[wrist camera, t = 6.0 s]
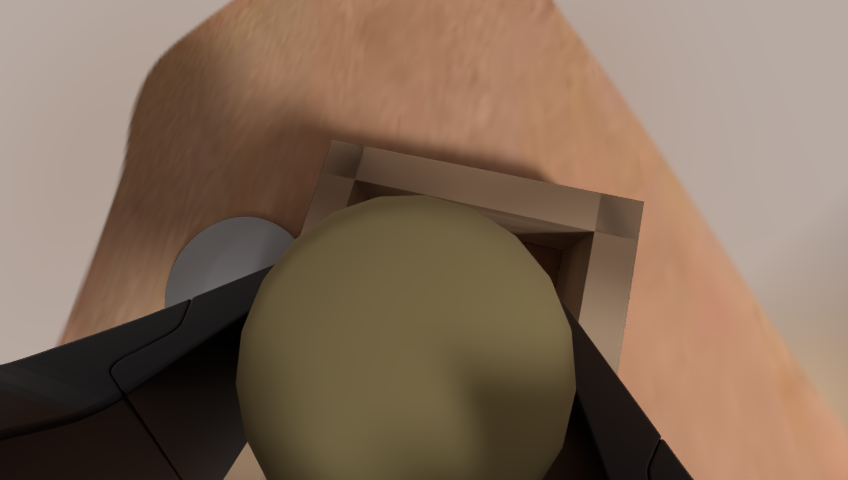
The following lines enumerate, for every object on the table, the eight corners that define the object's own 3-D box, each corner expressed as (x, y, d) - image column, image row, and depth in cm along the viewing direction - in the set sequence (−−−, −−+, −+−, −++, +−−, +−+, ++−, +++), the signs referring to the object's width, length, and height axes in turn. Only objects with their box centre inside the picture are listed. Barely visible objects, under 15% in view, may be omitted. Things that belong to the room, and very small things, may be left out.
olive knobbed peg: (518, 269, 15) (666, 156, 4) (502, 417, 14) (649, 774, 3) (384, 249, 16) (224, 114, 5) (358, 387, 15) (79, 593, 4)
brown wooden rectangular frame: (530, 629, 14) (558, 758, 10) (252, 519, 15) (182, 589, 12) (600, 227, 16) (643, 201, 13) (359, 175, 18) (332, 139, 14)
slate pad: (313, 361, 17) (309, 362, 16) (168, 373, 17) (159, 375, 17) (310, 211, 18) (306, 208, 18) (177, 227, 19) (170, 225, 18)
